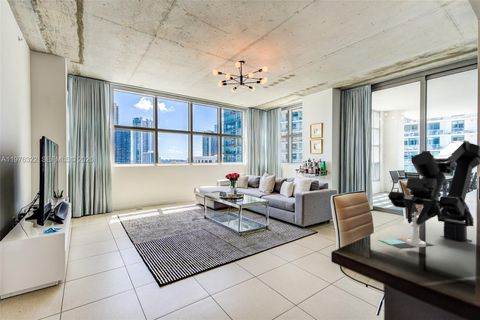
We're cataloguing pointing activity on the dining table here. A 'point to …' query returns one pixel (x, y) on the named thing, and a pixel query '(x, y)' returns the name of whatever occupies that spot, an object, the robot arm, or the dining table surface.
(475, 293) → the dining table surface
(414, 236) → the chess piece
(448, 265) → the dining table surface
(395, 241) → the pad
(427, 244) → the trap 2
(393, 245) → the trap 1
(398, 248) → the walnut board
